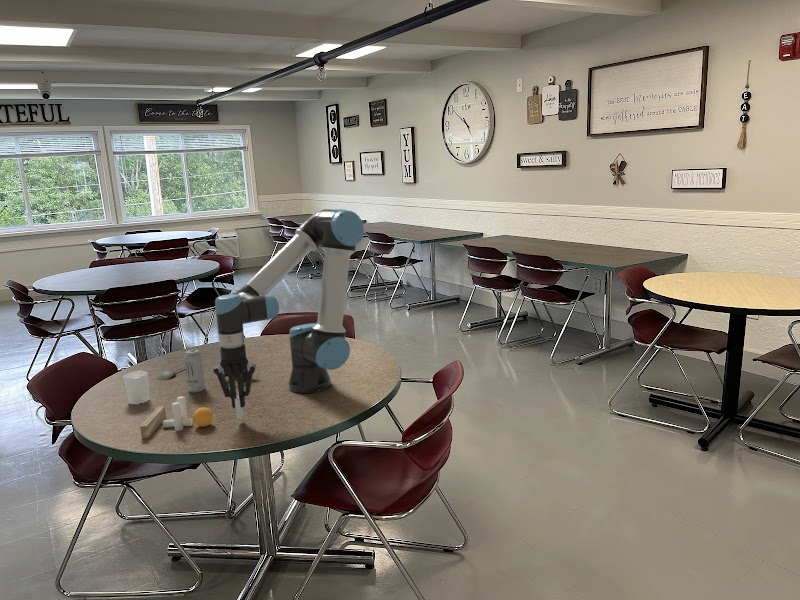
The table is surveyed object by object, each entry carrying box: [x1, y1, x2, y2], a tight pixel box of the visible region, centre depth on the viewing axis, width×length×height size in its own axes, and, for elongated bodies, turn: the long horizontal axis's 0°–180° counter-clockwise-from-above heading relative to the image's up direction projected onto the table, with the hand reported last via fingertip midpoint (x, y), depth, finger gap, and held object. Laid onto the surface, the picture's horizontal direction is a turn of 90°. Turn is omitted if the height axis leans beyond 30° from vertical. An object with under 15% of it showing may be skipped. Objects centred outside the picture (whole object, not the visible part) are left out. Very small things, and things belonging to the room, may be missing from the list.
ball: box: [192, 407, 214, 428], centre depth 189 cm, size 6×6×6 cm
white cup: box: [123, 370, 150, 405], centre depth 213 cm, size 8×8×10 cm
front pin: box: [162, 417, 194, 429], centre depth 190 cm, size 2×2×8 cm
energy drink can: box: [183, 348, 206, 393], centre depth 221 cm, size 6×6×15 cm
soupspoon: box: [156, 365, 185, 381], centre depth 246 cm, size 22×3×7 cm
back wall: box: [139, 405, 167, 439], centre depth 190 cm, size 2×16×4 cm, turn 3°
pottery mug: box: [222, 362, 256, 384], centre depth 231 cm, size 12×10×8 cm
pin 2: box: [171, 401, 184, 432], centre depth 187 cm, size 2×2×8 cm
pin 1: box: [176, 396, 188, 419], centre depth 192 cm, size 2×2×8 cm
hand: (240, 416), depth 191 cm, fingers closed
